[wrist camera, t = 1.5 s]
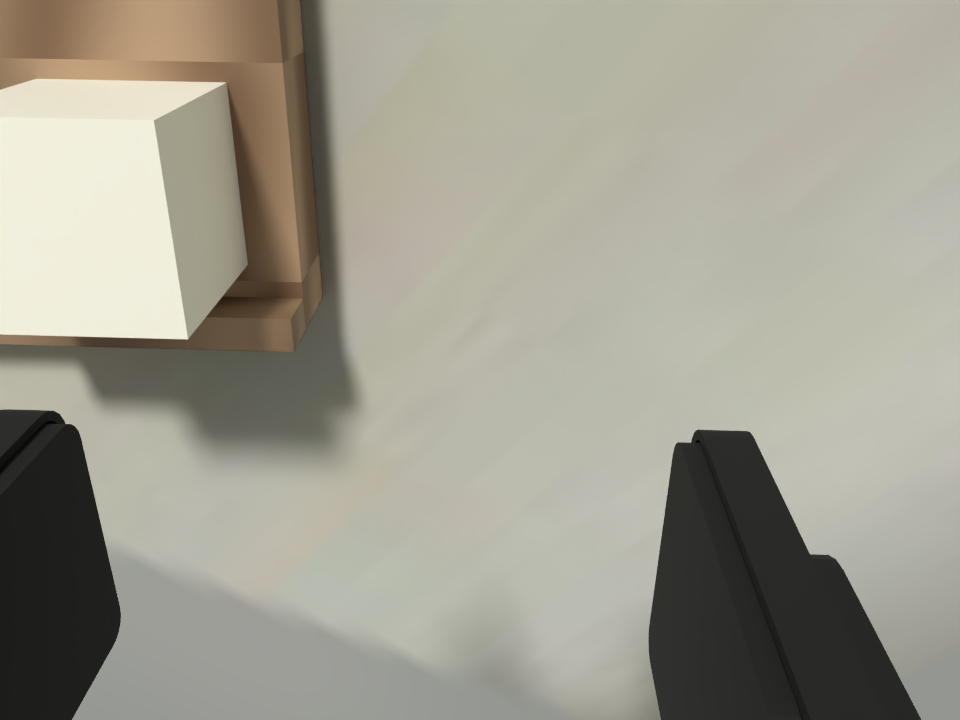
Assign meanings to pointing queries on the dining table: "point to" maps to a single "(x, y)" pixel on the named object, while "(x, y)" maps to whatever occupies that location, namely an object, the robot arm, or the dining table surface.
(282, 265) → the tray
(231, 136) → the block
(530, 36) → the dining table surface
